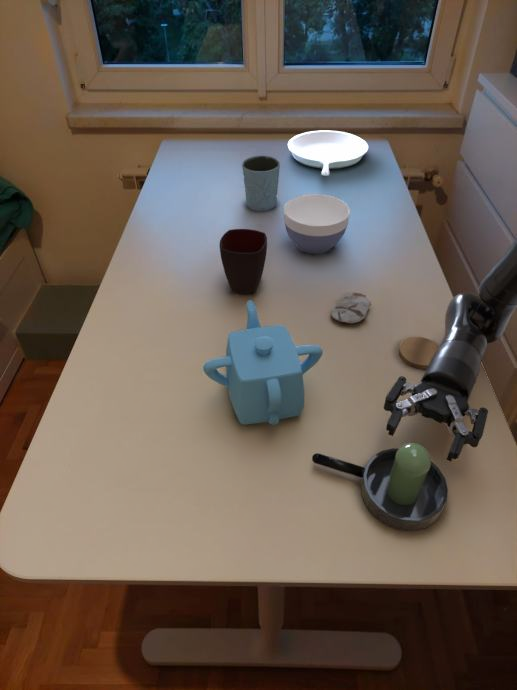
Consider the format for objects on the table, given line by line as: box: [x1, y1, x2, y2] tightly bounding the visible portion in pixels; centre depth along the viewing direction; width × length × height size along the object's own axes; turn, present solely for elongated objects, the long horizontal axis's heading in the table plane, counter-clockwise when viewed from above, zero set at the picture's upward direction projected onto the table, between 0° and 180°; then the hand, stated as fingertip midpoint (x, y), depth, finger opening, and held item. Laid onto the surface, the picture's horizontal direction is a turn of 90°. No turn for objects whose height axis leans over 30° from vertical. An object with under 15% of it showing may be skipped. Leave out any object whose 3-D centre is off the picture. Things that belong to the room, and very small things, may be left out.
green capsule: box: [386, 442, 432, 505], centre depth 72 cm, size 5×5×10 cm
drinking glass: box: [241, 155, 281, 212], centre depth 138 cm, size 10×10×12 cm
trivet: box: [398, 336, 440, 370], centre depth 97 cm, size 8×8×1 cm
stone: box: [330, 292, 372, 324], centre depth 106 cm, size 10×7×3 cm
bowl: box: [283, 193, 351, 255], centre depth 124 cm, size 16×16×10 cm
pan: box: [287, 129, 369, 177], centre depth 161 cm, size 26×39×5 cm
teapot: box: [202, 300, 323, 426], centre depth 86 cm, size 18×16×14 cm
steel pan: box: [360, 447, 449, 532], centre depth 75 cm, size 12×12×3 cm
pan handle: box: [311, 452, 365, 479], centre depth 77 cm, size 9×2×2 cm, turn 69°
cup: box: [218, 228, 268, 295], centre depth 111 cm, size 10×14×12 cm
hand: (420, 444), depth 71 cm, fingers open, 8 cm apart
